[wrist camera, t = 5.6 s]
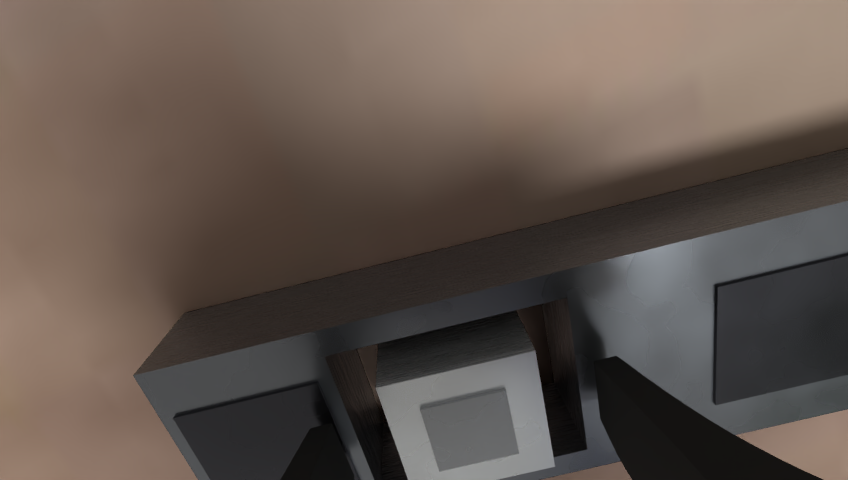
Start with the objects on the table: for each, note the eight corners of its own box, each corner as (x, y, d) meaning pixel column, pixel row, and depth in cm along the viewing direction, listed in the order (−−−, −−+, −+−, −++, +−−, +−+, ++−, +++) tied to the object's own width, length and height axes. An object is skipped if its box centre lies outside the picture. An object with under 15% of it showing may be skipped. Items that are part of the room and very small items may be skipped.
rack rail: (850, 330, 16) (948, 389, 13) (266, 467, 17) (239, 551, 14) (880, 140, 13) (1011, 163, 11) (184, 313, 14) (130, 377, 11)
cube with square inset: (518, 372, 16) (555, 469, 12) (409, 397, 16) (414, 501, 12) (499, 276, 14) (536, 353, 11) (380, 304, 15) (375, 390, 11)
